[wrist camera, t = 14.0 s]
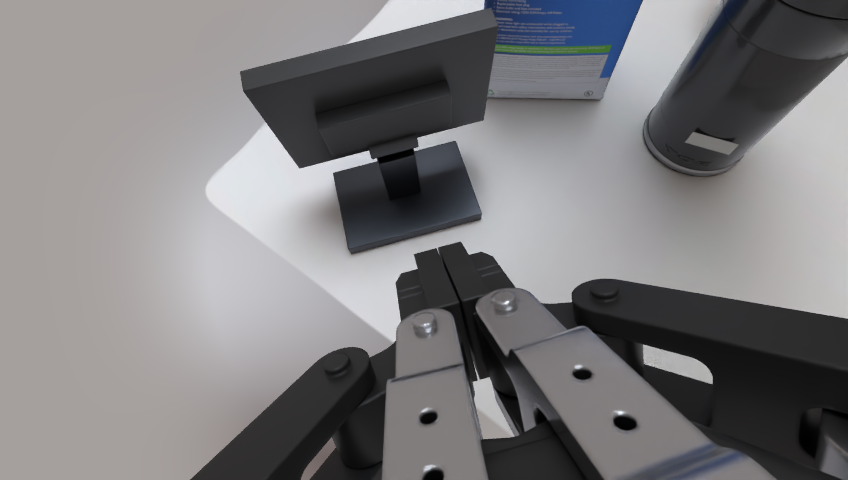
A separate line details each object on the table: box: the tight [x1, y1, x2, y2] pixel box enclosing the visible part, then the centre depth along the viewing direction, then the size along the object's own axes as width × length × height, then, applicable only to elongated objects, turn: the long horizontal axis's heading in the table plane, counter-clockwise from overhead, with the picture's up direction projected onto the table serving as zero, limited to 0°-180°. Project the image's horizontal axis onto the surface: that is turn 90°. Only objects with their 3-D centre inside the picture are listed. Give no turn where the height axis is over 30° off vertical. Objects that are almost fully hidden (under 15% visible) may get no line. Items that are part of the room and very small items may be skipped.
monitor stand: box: [333, 141, 482, 254], centre depth 39 cm, size 9×13×7 cm
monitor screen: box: [240, 8, 499, 168], centre depth 32 cm, size 4×17×11 cm, turn 104°
